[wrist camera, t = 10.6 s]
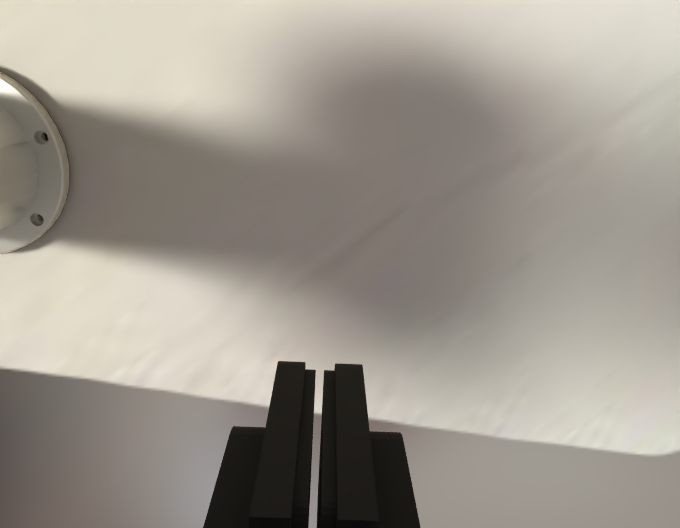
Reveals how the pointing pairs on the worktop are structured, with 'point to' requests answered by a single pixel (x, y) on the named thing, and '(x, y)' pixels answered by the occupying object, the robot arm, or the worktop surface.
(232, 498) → the robot arm
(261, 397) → the worktop surface
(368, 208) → the worktop surface
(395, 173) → the worktop surface
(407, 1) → the worktop surface
